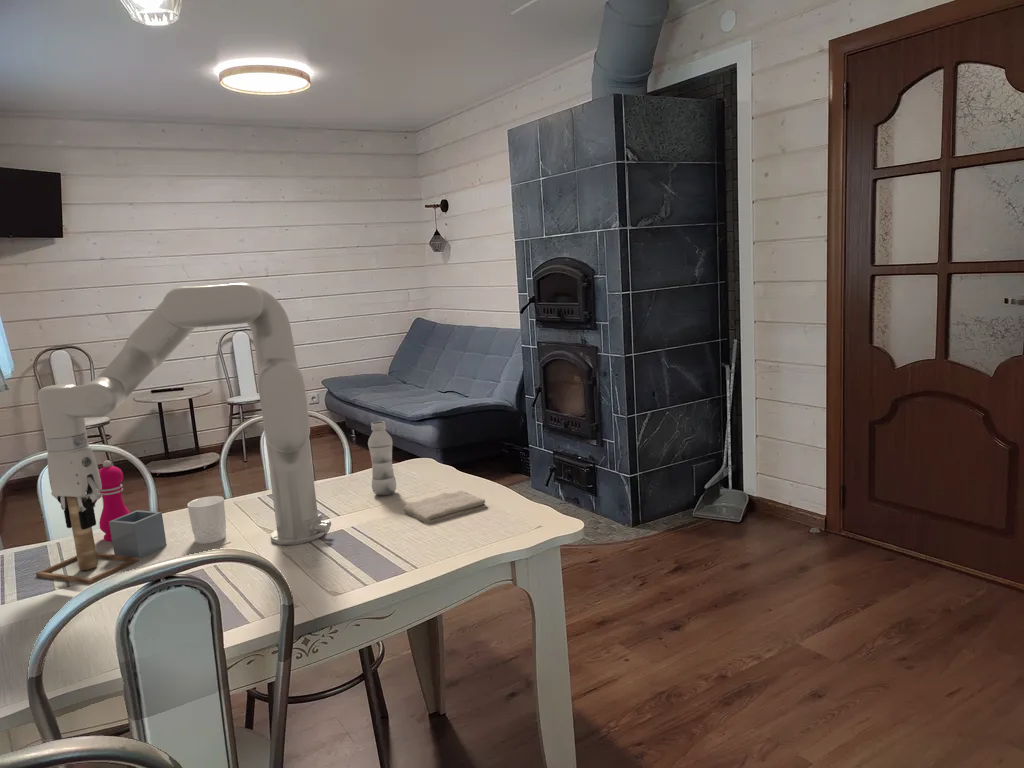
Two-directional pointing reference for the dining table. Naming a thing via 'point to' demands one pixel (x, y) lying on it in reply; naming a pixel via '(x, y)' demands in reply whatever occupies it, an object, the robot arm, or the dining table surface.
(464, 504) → the washcloth
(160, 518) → the grey hollow box
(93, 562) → the dowel
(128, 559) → the tray
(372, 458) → the plastic bottle
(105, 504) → the pepper mill
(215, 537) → the white cup
